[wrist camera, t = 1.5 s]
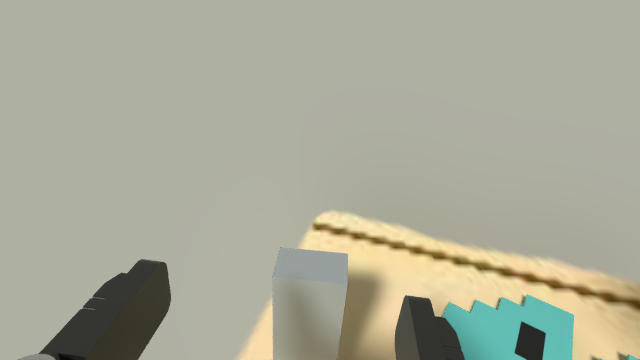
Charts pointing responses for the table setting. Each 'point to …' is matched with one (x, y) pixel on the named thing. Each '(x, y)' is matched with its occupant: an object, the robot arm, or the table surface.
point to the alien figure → (514, 331)
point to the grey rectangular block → (308, 304)
